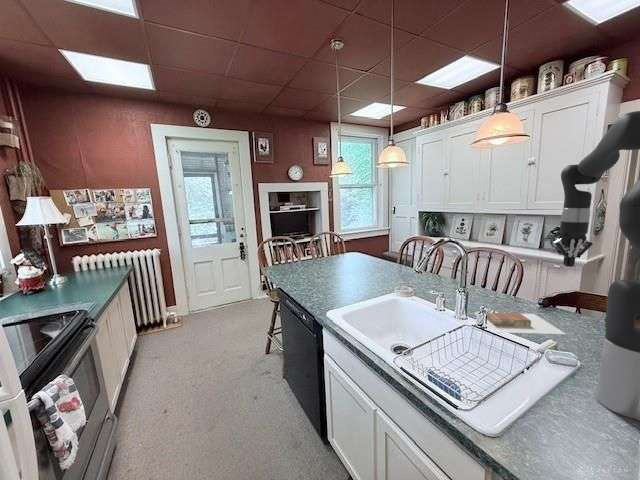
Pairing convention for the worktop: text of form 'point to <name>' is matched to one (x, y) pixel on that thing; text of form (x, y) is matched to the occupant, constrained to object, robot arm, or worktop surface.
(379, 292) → the worktop surface
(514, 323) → the wooden tile
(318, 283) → the worktop surface
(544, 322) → the rubber mat
